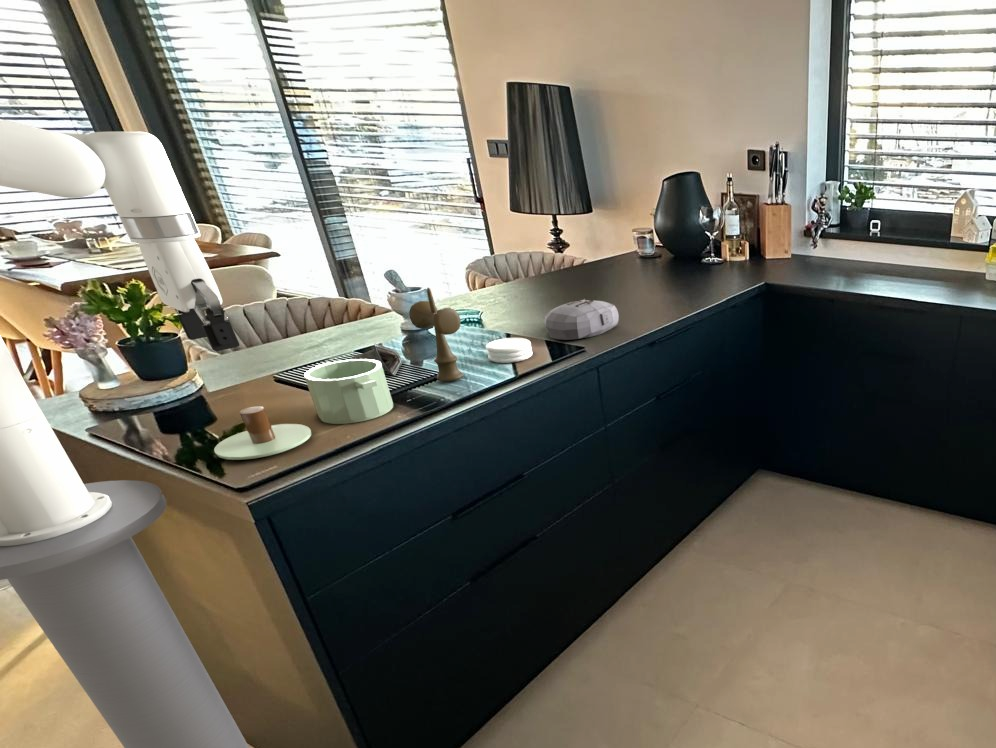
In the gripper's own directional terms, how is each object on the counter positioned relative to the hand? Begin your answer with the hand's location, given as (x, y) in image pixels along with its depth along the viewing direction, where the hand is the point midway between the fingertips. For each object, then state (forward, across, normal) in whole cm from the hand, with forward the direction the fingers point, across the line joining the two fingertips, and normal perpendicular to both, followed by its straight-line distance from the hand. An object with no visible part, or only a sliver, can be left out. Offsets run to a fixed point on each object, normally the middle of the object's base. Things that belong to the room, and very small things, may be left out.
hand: (214, 342), depth 97 cm
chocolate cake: (+19, -23, +31) cm, 43 cm away
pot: (+19, -3, +17) cm, 26 cm away
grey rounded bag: (+21, -12, +78) cm, 81 cm away
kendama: (+20, -5, +37) cm, 42 cm away
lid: (+18, 0, +1) cm, 18 cm away
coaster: (+20, -8, +54) cm, 58 cm away
